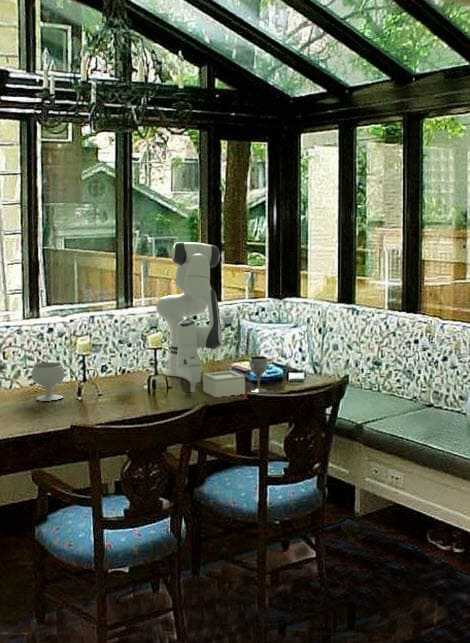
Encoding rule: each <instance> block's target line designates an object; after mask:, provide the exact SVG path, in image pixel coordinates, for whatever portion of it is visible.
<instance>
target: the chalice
mask: <svg viewBox="0 0 470 643" xmlns="http://www.w3.org/2000/svg"><path fill="white" fill-rule="evenodd" d="M65 375H66V373H65V369H64V366H63V365H62V363H61V362H41V363H37V364H35V365H34V366H33V367H32V371H31V379H32V381H33V382H35V383H36V384H38V385H40V386H42V387H44V388H45V390H46V394H42V395H39V396H37V397H35V398H36V399H38V400H45V401H50V402H52V401H51V400H57V401H59V400H58V399H61V398H63V397H64V396H63V395H61V394H54V393H52V389H53V388H54V387H55V386H57V385H58V384H59V383H60V382H62V381H63V380H64V379H65ZM63 399H64V398H63ZM61 400H62V399H61Z"/></svg>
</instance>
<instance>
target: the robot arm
mask: <svg viewBox="0 0 470 643" xmlns="http://www.w3.org/2000/svg"><path fill="white" fill-rule="evenodd" d="M220 255H221V254H220V250H219V247H218V246H217V245H213V244H208V243H202V242H191V241H190V242H187V241H185V242H184V241H177V242H175V243H174V244H173V247H172V248H171V255H170V256H171V260H172V261H173V263H175V264H176V265H177V267H176V273H175V278H174V283H175V286H176V287H177V288H178V289H179V290H180V291H182V292H181V293H180V294H179V293H178V294H170V295H166V296H163V297H159V298H158V300H157V301H156V306H155V308H156V312H157V314H158V315H159V317H160V318H162V319H163V320H164V321H165V322H166V323H167V326H168V327H169V331H170V332H169V333H170V348H169V353H168V356H167V357H166V359H165V360H163V366H165V367H161V369H160V371H161V372H162V373H163V374H165V375H166V377H179V378H181V377H182V378H184V379H185V380H187V381H189V382H190V384H191V387H190V391H191V392H192V393H194V392H195V391H196V388H195V386H196V387H197V384H199V383H200V382H201V378H202V377H201V375H202V374H201V373H202V372H203V371H202V368H201V365H202V359H201V358H200V357H199V354H198V353H199V351H198V348H199V349H200V348H202V349H203V348H204V349H205V348H206V349H212V350H215V349H217V348H218V347H220V346H221V345H222V342H223V333H222V326H221V319H220V311H219V310H220V308H219V300H218V296H217V293H216V290H214V289H212V286H211V282H210V281H211V268H215V267H216V266H217V265H218V264H219V262H220V258H221V256H220ZM206 309H208V317H209V318H208V319H209V324H208V325H197V324H196V321H194V320H192V319H185V320H184V318H185V317H195V316H199V315H201V314H203V313H205V311H206ZM165 375H164V376H165Z"/></svg>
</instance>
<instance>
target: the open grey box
mask: <svg viewBox="0 0 470 643" xmlns="http://www.w3.org/2000/svg"><path fill="white" fill-rule="evenodd" d="M202 380H203V381H202V383H203V384H202V385H203V392H204V393H206V394H207V395H209V394H210V396H211V395H212V396H211V397H213V396H214V397H213V398H215V397H218V398H223V397H222V396H226V397H232V396H231V395H235V396H241V395H240V394H243V395H246V375H243V374H241V373H238V372H237V371H235V370H226V371H225V370H223V371H216V372H215V371H214V372H204V373H202Z"/></svg>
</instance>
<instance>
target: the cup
mask: <svg viewBox="0 0 470 643" xmlns="http://www.w3.org/2000/svg"><path fill="white" fill-rule="evenodd" d="M178 380H179V386H180V390H181V391H182V392H183V396H185V397H192V396H193V393H194V392H191V391H190V387H191V384H190V382H189V381H187V380H185V379H184V378H182V377H179V379H178ZM196 387H197V385H196V386H195V389H196Z"/></svg>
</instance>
